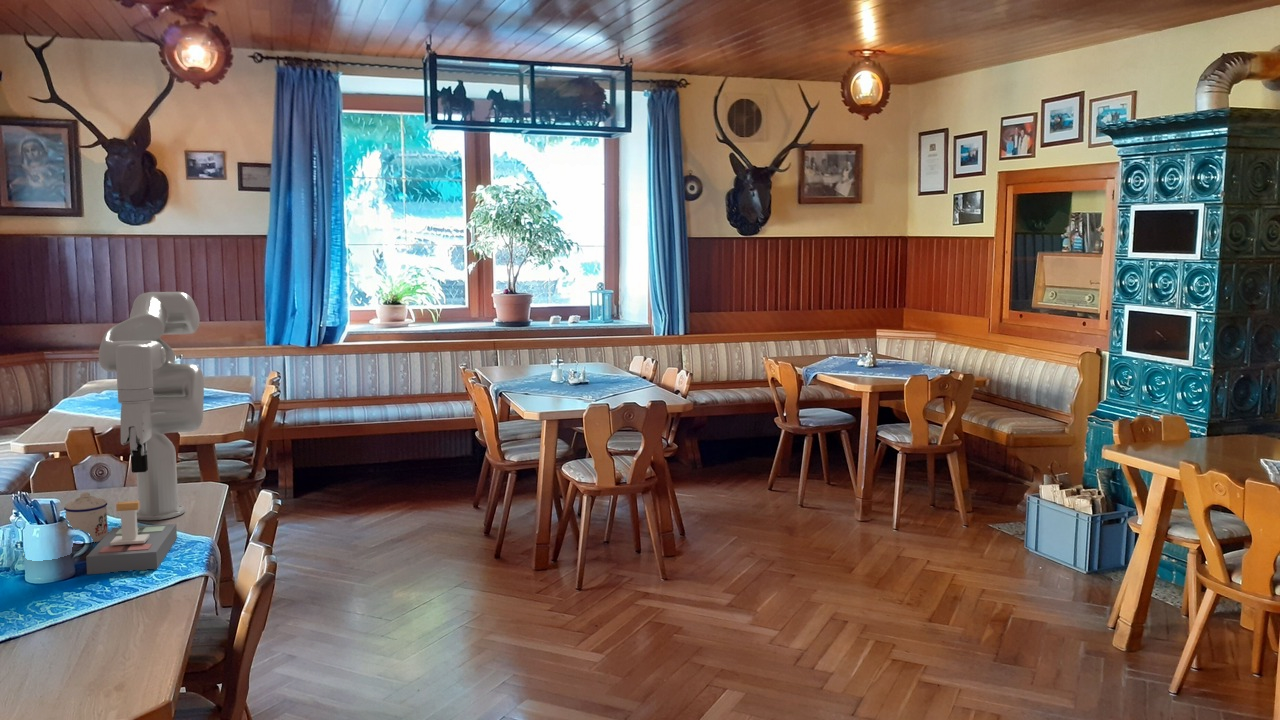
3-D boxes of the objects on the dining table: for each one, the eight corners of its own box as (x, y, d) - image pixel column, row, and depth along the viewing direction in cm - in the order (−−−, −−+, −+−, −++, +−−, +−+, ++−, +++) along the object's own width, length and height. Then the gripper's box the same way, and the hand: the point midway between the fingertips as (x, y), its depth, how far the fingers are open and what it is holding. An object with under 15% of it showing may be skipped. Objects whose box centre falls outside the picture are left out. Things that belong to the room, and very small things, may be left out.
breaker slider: (116, 538, 218) (113, 500, 217) (149, 536, 220) (147, 498, 219) (110, 545, 213) (107, 506, 212) (144, 543, 215) (142, 504, 214)
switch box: (113, 544, 229) (112, 527, 228) (177, 539, 233) (176, 523, 232) (87, 574, 208) (85, 556, 207) (157, 569, 212) (156, 551, 211)
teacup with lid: (104, 543, 229) (101, 496, 228) (61, 546, 227) (58, 499, 225) (116, 529, 241) (113, 484, 239) (75, 532, 238) (72, 486, 237)
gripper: (126, 392, 231) (130, 466, 233) (109, 400, 217) (114, 479, 219) (160, 391, 233) (163, 464, 235) (145, 399, 219) (150, 477, 221)
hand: (139, 471), depth 227 cm, fingers closed
